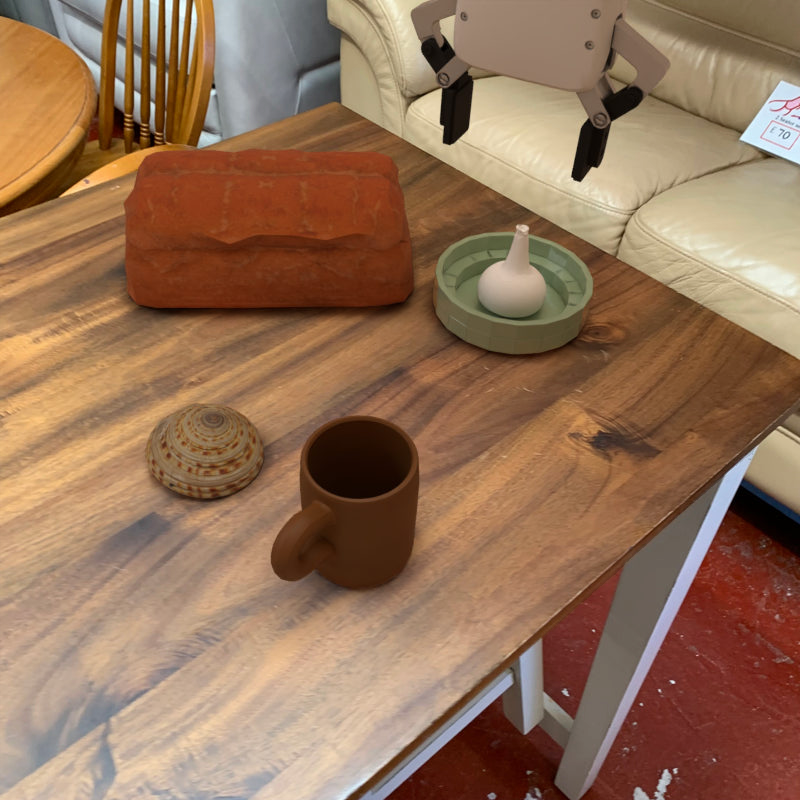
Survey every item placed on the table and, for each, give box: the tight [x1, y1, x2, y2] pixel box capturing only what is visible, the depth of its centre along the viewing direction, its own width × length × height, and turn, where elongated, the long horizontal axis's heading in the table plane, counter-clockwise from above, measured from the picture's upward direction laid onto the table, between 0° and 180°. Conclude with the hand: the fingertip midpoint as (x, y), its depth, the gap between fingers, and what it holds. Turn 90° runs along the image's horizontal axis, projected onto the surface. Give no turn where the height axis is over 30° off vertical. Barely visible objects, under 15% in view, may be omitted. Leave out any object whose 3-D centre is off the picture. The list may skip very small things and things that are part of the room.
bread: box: [123, 148, 415, 309], centre depth 77 cm, size 16×27×11 cm, turn 94°
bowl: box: [432, 231, 594, 355], centre depth 76 cm, size 14×14×4 cm
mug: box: [270, 414, 420, 589], centre depth 53 cm, size 12×8×9 cm, turn 146°
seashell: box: [145, 402, 265, 499], centre depth 62 cm, size 8×6×8 cm
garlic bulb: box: [477, 224, 547, 318], centre depth 75 cm, size 6×6×8 cm
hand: (517, 154), depth 59 cm, fingers open, 9 cm apart
